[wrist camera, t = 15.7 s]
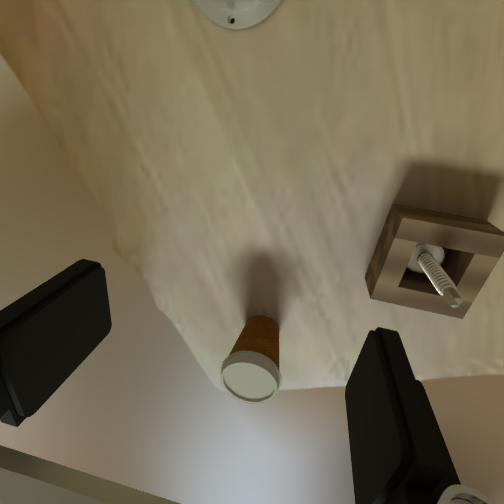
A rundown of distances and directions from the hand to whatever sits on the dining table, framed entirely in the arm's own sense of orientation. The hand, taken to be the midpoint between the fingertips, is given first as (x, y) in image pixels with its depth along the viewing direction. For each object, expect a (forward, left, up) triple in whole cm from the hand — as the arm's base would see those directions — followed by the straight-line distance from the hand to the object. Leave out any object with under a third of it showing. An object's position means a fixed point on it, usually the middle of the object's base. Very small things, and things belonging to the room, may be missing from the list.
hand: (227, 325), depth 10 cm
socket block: (+9, +20, -33) cm, 40 cm away
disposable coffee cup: (+30, 0, -34) cm, 45 cm away
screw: (+9, +20, -34) cm, 40 cm away
